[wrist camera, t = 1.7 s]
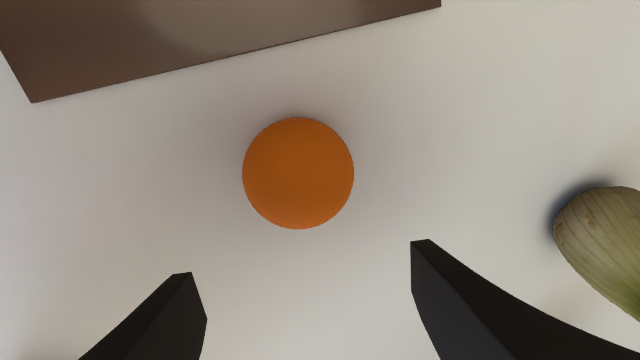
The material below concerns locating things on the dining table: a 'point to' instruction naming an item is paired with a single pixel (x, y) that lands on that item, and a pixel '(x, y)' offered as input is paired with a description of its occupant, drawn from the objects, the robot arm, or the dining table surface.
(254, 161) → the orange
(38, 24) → the front mat
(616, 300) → the fennel bulb
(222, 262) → the dining table surface
